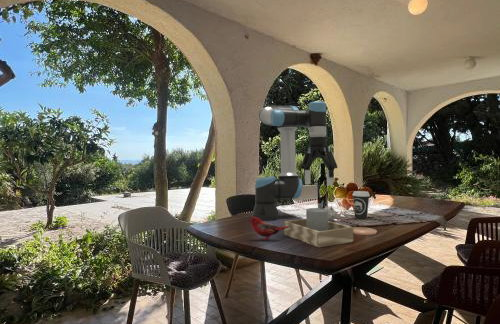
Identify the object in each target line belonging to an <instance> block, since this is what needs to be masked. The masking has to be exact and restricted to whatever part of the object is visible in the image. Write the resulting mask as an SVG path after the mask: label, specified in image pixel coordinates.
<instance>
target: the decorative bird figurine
mask: <svg viewBox="0 0 500 324" xmlns="http://www.w3.org/2000/svg"><path fill="white" fill-rule="evenodd" d="M248 222H250V223H251V226H252V227H253V228H252V229H253V230H254V232H255V233H256V234H257V235H259V236H262V237H263V238H260V240H262V241H265V240H266V241H269V240H270V237H271V236H274V235H276V234H278V233H279V232H281V231H282V230H284V229H285V228H288V227H290V226H286V227H284V226H280V227H279V226H277V225H275V224H272V223H268V222H266V221H264V220H260V219H259V218H257V217H251V219H250V220H249V221H248Z"/></svg>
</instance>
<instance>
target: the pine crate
mask: <svg viewBox="0 0 500 324" xmlns="http://www.w3.org/2000/svg"><path fill="white" fill-rule="evenodd" d="M286 226H290V227H288V228H285V229H283V235H284V236H287V237H288V238H289V237H290V238H292V239H295V240H297V239H298V241H300V240H301V241H300V242H303V243H305V242H306V244H307V245H308V244H309V245H311V246H314V247H317V248H325V247H330V246H331V247H332V246H335V245H336V246H337V245H343V244H347V243H352V242H354V233H353V228H354V227H352V226H348V225H346V224H342V223H338V222H335V221H334V222H333V221H331V220H328V230H326V231H316V230H313V229H310V228H307V227H306V218H301V219H294V220H287V221H286V220H285V221H283V227H286Z"/></svg>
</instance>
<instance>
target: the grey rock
mask: <svg viewBox="0 0 500 324" xmlns="http://www.w3.org/2000/svg"><path fill="white" fill-rule="evenodd" d="M323 209H327V210H328V221H334V222H335V218H336V216H337V214H338V213H339V212H338V211H336V210H335V209H334V208H333V205H331V206H329V207H328V206H323Z"/></svg>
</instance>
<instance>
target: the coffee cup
mask: <svg viewBox="0 0 500 324" xmlns="http://www.w3.org/2000/svg"><path fill="white" fill-rule="evenodd" d="M351 196H352V198H353V209H354V210H353V211H354V212H353V213H354V219H356V218H357V219H358V220H366V218H367V219H368V208H369V201H370V200H369V199H370V197H371V195H370V193H369V191H362V190H356V191H355V190H354V191H353V193H352V195H351ZM357 219H356V220H357Z"/></svg>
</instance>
